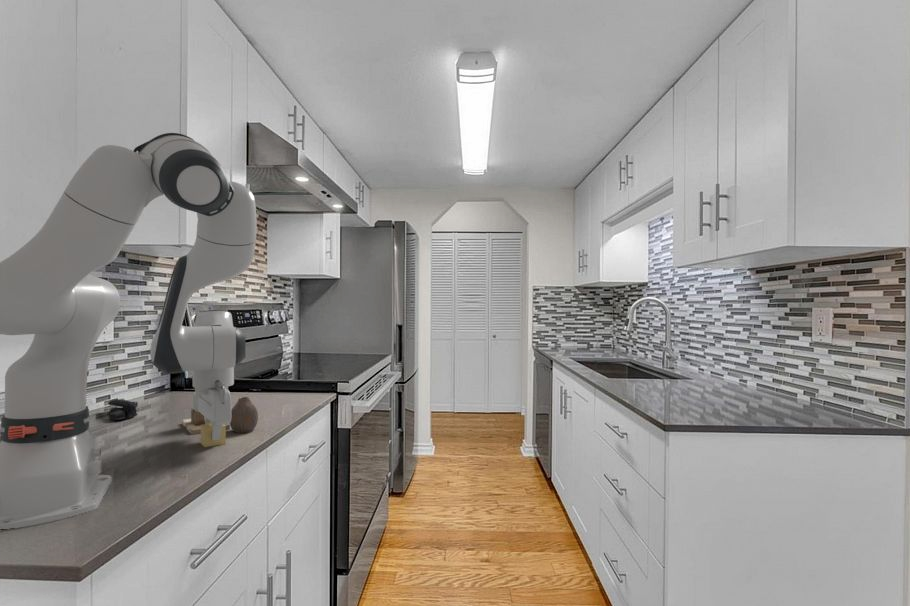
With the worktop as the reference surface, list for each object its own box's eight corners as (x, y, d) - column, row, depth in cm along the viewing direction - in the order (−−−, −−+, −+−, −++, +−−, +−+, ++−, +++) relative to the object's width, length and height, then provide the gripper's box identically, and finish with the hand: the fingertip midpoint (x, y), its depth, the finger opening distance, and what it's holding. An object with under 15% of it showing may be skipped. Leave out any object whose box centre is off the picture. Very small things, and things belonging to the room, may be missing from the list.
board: (229, 429, 131) (229, 425, 131) (191, 434, 126) (191, 430, 126) (217, 419, 142) (217, 415, 142) (182, 424, 137) (182, 419, 137)
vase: (246, 435, 125) (246, 401, 125) (223, 433, 127) (223, 399, 127) (263, 429, 132) (263, 396, 132) (241, 427, 134) (241, 394, 134)
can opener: (141, 419, 143) (142, 400, 143) (113, 423, 138) (113, 403, 138) (125, 410, 155) (126, 392, 155) (98, 413, 150) (99, 395, 150)
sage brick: (217, 409, 134) (217, 393, 134) (196, 412, 130) (196, 395, 130) (213, 406, 137) (213, 390, 137) (193, 409, 134) (193, 392, 134)
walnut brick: (220, 422, 134) (220, 409, 134) (195, 426, 130) (195, 412, 130) (215, 418, 138) (215, 406, 138) (191, 421, 135) (191, 408, 135)
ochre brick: (225, 444, 117) (225, 425, 117) (204, 447, 115) (204, 428, 115) (220, 440, 121) (221, 422, 121) (200, 443, 118) (200, 424, 118)
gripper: (239, 382, 112) (238, 444, 112) (218, 372, 128) (217, 426, 128) (208, 385, 108) (207, 449, 108) (190, 374, 124) (190, 429, 124)
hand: (213, 436), depth 118 cm, fingers closed on ochre brick, 4 cm apart
